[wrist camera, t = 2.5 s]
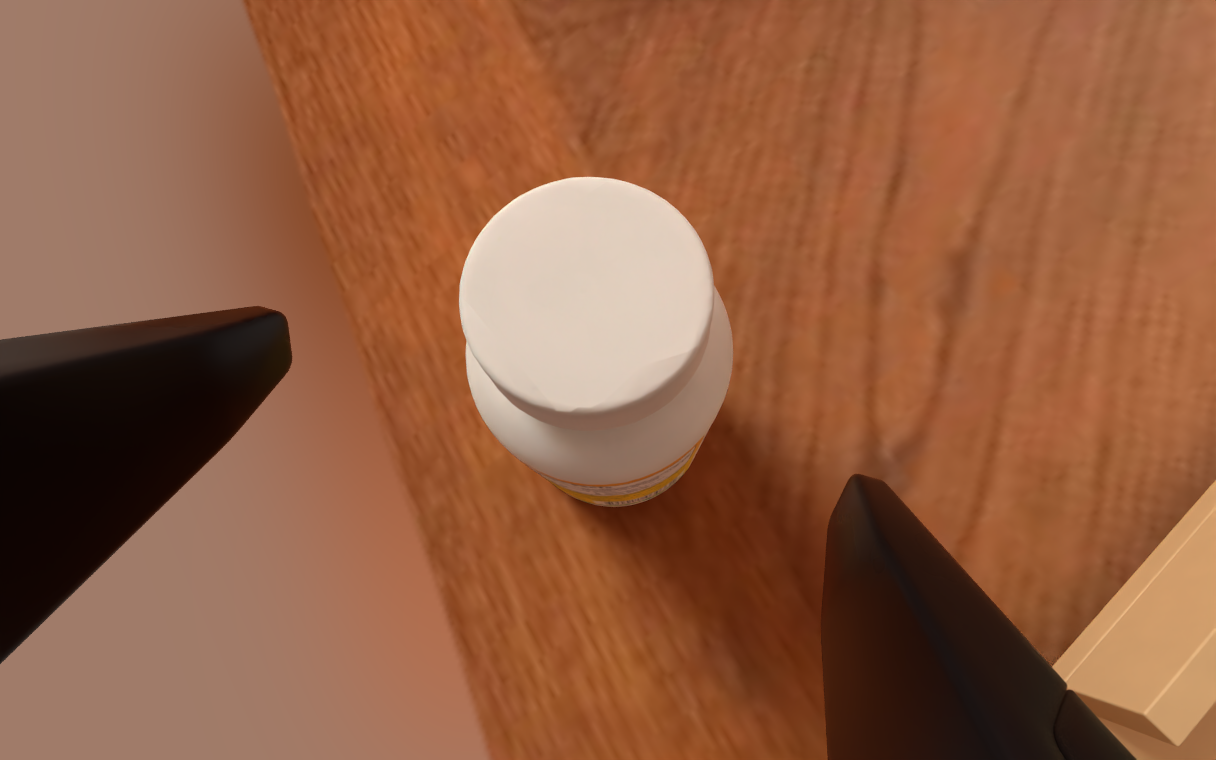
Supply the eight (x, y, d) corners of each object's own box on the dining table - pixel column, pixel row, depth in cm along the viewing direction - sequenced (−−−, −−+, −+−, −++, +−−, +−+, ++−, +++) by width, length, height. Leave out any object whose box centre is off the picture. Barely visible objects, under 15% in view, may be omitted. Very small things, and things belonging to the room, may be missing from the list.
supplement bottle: (647, 542, 18) (647, 539, 8) (494, 449, 19) (341, 353, 9) (735, 385, 19) (821, 227, 9) (585, 305, 20) (530, 90, 10)
